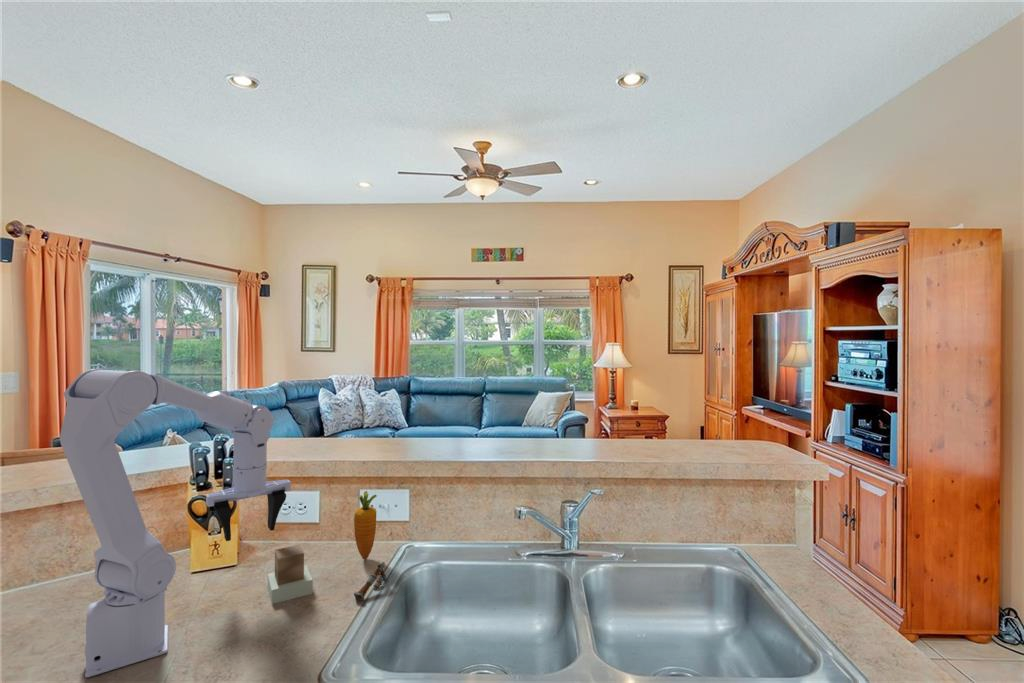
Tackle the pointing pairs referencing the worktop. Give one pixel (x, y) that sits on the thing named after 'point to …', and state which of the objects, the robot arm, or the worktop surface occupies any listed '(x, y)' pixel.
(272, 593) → the base block
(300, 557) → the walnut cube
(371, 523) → the carrot
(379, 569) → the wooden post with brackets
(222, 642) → the worktop surface
